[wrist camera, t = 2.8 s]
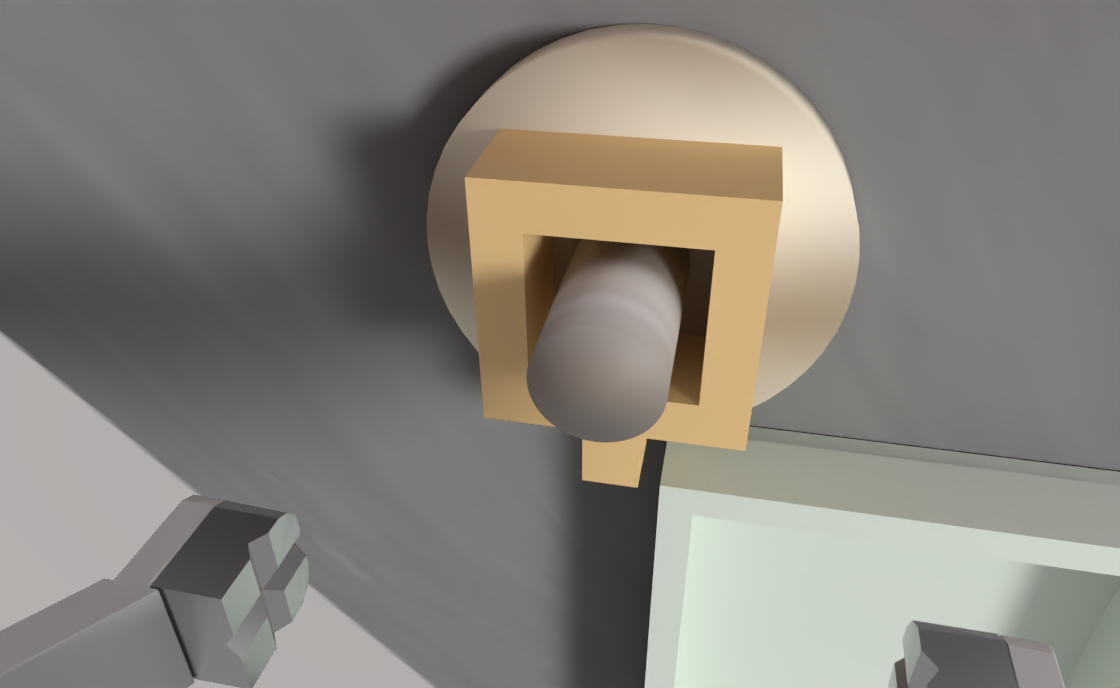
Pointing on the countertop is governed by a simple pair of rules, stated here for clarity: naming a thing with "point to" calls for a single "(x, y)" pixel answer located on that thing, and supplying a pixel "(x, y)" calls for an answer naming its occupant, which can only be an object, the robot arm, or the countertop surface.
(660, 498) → the tray
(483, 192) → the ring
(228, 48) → the countertop surface
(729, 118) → the stand
